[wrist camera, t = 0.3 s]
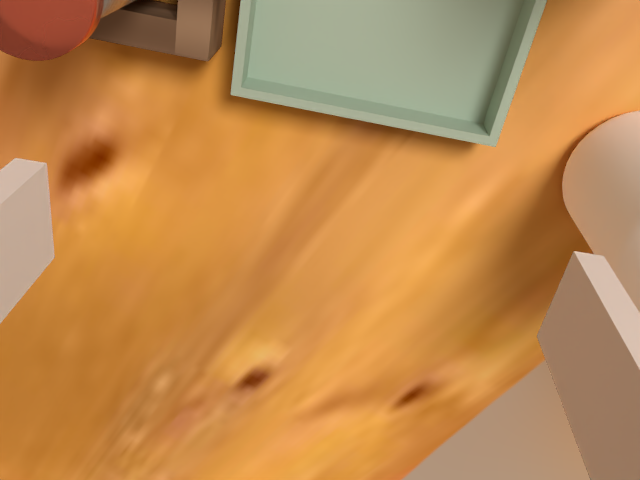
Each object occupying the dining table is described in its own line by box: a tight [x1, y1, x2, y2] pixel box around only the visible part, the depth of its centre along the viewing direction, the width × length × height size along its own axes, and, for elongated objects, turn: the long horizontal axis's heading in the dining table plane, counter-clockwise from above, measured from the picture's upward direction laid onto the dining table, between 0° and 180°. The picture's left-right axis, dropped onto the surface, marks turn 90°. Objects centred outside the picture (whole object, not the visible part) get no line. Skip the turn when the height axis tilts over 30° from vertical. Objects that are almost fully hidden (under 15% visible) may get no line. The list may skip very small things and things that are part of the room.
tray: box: [231, 0, 547, 147], centre depth 37 cm, size 14×17×3 cm
